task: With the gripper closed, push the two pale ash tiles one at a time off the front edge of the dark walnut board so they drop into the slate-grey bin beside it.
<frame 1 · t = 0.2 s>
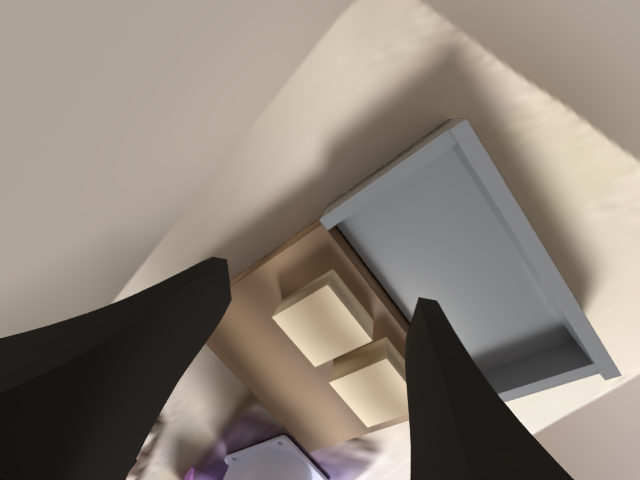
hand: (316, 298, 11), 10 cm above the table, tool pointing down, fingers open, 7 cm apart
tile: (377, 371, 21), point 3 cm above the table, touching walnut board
slate bin: (453, 266, 20), on the table
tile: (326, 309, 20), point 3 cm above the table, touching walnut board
walnut board: (321, 333, 24), on the table
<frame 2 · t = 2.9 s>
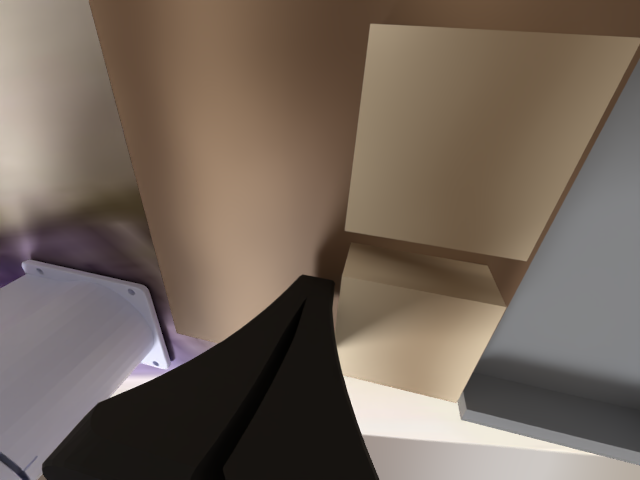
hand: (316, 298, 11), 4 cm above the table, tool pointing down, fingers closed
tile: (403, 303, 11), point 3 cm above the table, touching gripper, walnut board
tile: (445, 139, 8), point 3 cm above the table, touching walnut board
walnut board: (331, 187, 13), on the table
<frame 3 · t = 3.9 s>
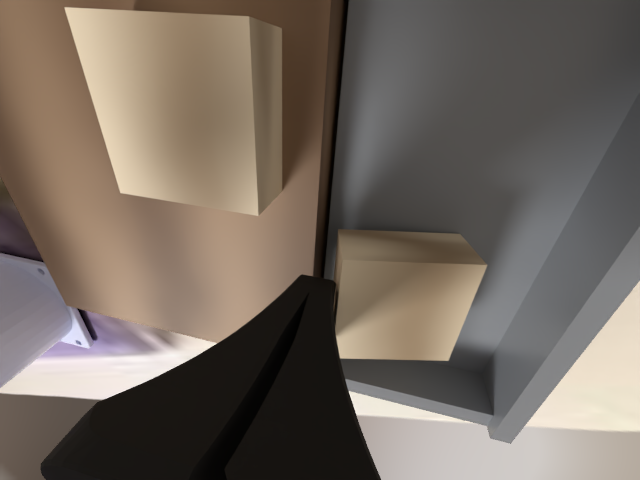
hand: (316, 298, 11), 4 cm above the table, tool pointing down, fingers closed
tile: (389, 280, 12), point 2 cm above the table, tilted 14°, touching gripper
slate bin: (444, 203, 12), on the table
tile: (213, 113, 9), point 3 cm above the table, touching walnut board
walnut board: (187, 166, 14), on the table
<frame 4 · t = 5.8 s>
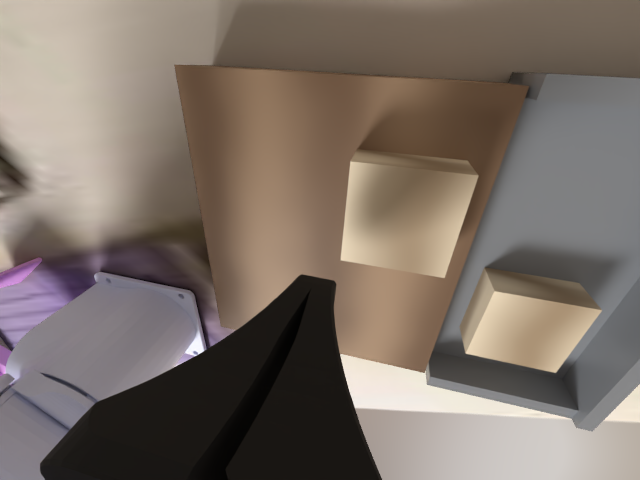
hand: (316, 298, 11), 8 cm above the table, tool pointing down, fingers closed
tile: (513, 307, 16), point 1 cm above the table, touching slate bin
toy chair: (63, 296, 30), on the table
slate bin: (541, 253, 16), on the table
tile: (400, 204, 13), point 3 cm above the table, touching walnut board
walnut board: (333, 222, 18), on the table
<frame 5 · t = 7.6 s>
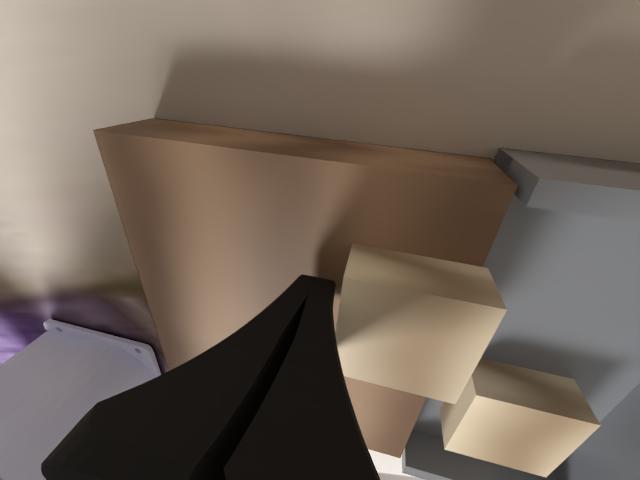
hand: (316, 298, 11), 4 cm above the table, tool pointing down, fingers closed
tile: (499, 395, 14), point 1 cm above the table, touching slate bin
slate bin: (531, 336, 14), on the table
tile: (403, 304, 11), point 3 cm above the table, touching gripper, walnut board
walnut board: (299, 289, 16), on the table
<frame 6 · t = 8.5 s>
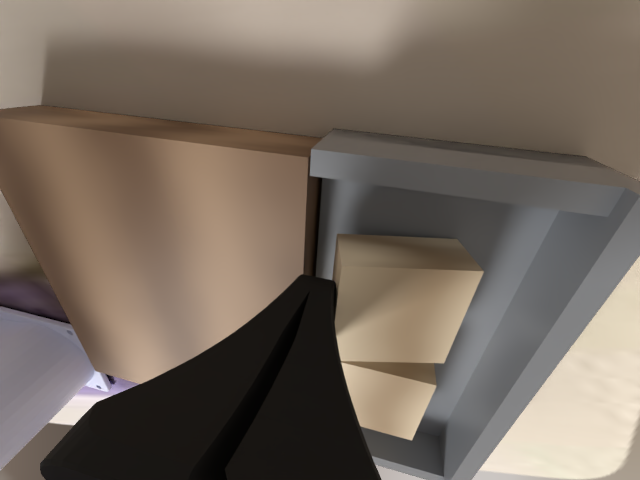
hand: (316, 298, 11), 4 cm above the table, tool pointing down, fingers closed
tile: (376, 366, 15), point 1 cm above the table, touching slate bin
slate bin: (403, 310, 15), on the table
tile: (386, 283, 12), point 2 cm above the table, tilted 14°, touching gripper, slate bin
walnut board: (198, 268, 17), on the table
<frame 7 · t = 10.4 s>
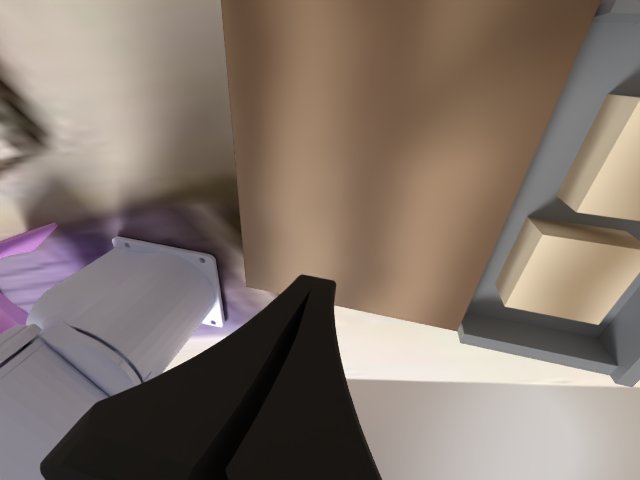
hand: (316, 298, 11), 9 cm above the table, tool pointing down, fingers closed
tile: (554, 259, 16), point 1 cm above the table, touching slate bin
toy chair: (77, 265, 29), on the table
slate bin: (583, 204, 16), on the table
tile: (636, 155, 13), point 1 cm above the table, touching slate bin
walnut board: (367, 175, 18), on the table
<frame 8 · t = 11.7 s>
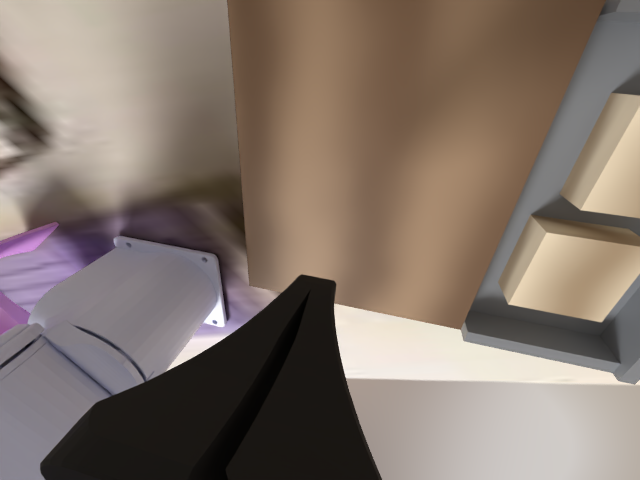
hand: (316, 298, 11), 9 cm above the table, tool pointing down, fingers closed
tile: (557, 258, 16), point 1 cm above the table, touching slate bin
toy chair: (77, 265, 29), on the table
slate bin: (586, 202, 16), on the table
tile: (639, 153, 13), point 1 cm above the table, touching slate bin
walnut board: (370, 174, 18), on the table
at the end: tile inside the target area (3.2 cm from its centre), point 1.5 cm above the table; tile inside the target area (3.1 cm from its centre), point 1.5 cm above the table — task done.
